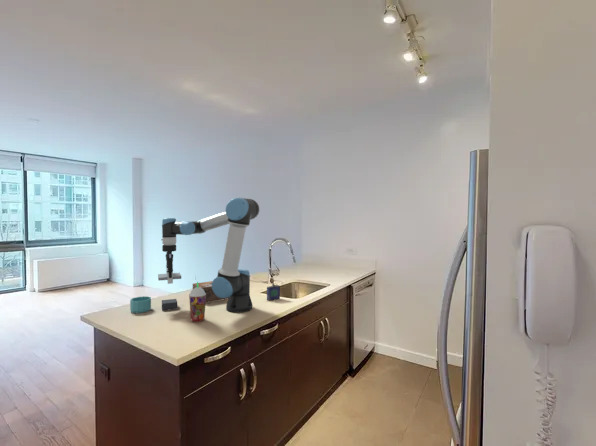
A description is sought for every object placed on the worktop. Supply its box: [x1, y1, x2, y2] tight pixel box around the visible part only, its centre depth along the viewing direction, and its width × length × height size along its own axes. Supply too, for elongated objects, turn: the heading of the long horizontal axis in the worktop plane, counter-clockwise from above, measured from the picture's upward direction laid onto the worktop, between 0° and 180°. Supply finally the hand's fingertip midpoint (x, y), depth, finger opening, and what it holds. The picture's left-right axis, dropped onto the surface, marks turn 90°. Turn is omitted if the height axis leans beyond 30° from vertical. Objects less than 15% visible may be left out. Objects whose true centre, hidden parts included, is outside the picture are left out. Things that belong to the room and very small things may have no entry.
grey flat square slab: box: [157, 272, 182, 281], centre depth 180 cm, size 12×12×2 cm
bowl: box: [129, 296, 152, 314], centre depth 176 cm, size 10×10×6 cm
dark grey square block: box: [161, 298, 178, 312], centre depth 181 cm, size 8×8×4 cm
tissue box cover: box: [192, 280, 229, 304], centre depth 204 cm, size 26×14×10 cm, turn 128°
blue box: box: [266, 282, 281, 302], centre depth 200 cm, size 9×3×11 cm, turn 121°
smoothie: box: [189, 281, 206, 323], centre depth 160 cm, size 8×8×20 cm
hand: (169, 281), depth 180 cm, fingers closed on grey flat square slab, 12 cm apart
